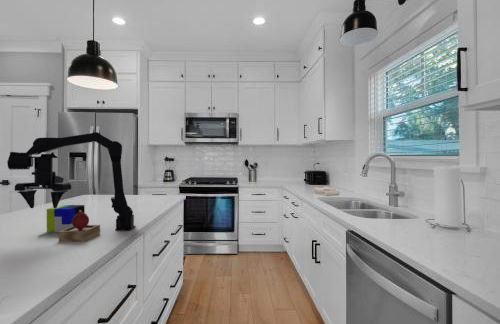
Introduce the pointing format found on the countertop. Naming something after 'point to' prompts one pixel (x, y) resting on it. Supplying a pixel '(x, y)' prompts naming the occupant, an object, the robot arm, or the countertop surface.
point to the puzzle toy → (62, 217)
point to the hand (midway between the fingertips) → (43, 208)
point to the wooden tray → (79, 233)
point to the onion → (80, 220)
